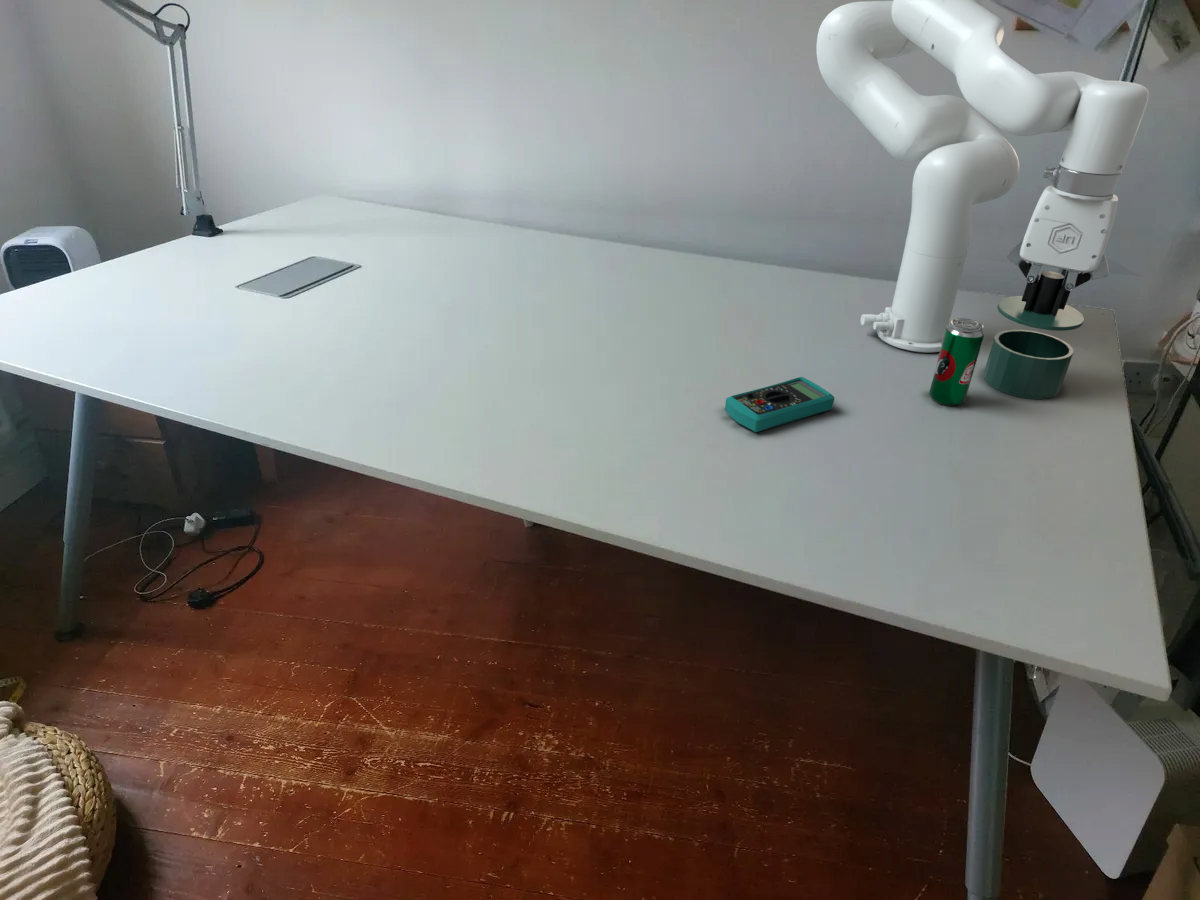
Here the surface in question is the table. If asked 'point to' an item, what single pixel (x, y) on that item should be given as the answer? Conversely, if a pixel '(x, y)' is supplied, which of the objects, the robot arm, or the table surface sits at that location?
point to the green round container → (1027, 364)
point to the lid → (1042, 307)
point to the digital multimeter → (778, 404)
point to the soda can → (956, 361)
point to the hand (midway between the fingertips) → (1041, 308)
